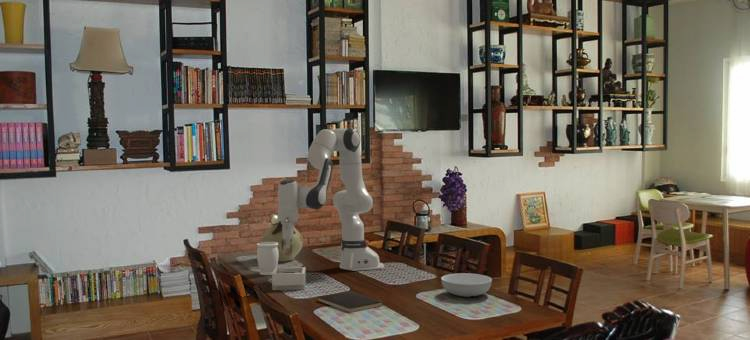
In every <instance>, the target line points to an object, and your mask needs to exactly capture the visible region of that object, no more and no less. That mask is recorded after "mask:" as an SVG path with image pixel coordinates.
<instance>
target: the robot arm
mask: <svg viewBox="0 0 750 340" xmlns="http://www.w3.org/2000/svg"><path fill="white" fill-rule="evenodd" d="M360 143H361V136H360V133H359V131H358V130H357V129H356V128H355V129H354V128H351V127H350V128H344V127H343V128H333V129H325V128H324V129H321V130H320V131H318V133H317V134H316V136H315V137H314V139H313V141H312V142H311V144H310V146H309V149H308V150H307V151H308V152H307V153H306V154H307V160H308V163H309V164H311V166H312V167H314V168H315V169H317V170H318V171H319V172H318V177H317V180H316V184H314V185H313V186H303V185H300V184H299V183H298V182H297V180H296V179H284V180H282V181H280V182H279V184H278V187H277V188H278V189H277V203H278V208H277V213H278V221H281V224H283V230H282V238H283V240H285V242H286V248H290V240H291V238H292V233H293V232H294V227H295V224H296V222H297V221H298V220H299V208H304V209H311V210H317V211H318V210H320V209H322V207H324V205H326V202H327V197H328V189H329V185H330V182H331V178H332V174H333V169H334V164H333V160H332V156H333V154H334V152H339V176H340V180H341V182H342V183H343V184H344V187H345V189H343V190H340V191H337V192H336V193H335V194H334V195H333V198H332V204H333V206H334V207H335V209H336V210H337V212H338V215H339V218H340V219H339V220H340V224H341V235H342V237H341V242H340V246H341V248H340V250H341V258H340V264H339V268H340V269H342V270H345V271H346V270H347V271H351V272H352V271H353V272H356V271H370V270H381V269H385V266H384V263H382V262H380V257H379V255H378V253H377V252H376V251H375V250H374V249H372V248H370V247H369V245H370V242H369V240H367V239H365V225H364V222H363V221H362V219H361V218H360V214H364V213H368V212H370V210H372V208H373V205H374V204H373V203H374V200H373V197H372V196H371V194H370V193H369V192H368V190H367V188H366V186H365V182H364V179H363V178H364V177H363V168H362V167H363V165H362V155H361V149H360Z"/></svg>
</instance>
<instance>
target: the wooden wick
mask: <svg viewBox="0 0 750 340" xmlns="http://www.w3.org/2000/svg"><path fill="white" fill-rule="evenodd" d="M283 256H293V233H292V238H291V240H290V248H286V242H285V240H283Z"/></svg>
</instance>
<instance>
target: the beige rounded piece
mask: <svg viewBox="0 0 750 340" xmlns="http://www.w3.org/2000/svg"><path fill="white" fill-rule="evenodd" d="M269 222H270V226H269V228H268V229H267V230H266V232H265V233H264V234H263V235H262V238H261V242H277V243H278V246H277V248H278V254H279V257H278V263H279V262H290V261H293V260H295V258H296V256H297V255H298V254H299V253H300V252H301V250H302V248H303V244H304V238H303V236H302V235H303V234H302V233H301V232H300V231H299V230H298V229H297V228H296V227H295V226H294V232H293V256H283V238H282V230H283V224H281V221H278V212H271V213H270V214H269ZM261 242H260V243H261Z"/></svg>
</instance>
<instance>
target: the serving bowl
mask: <svg viewBox="0 0 750 340" xmlns="http://www.w3.org/2000/svg"><path fill="white" fill-rule="evenodd" d="M440 279H441V285H442V287H443V289H444V290H445V291H446V292H448V293H449V294H452V295H455V296H457V295H458V296H457V297H461V296H464V297H463V298H472V297H471V296H474V297H476V296H477V297H478V296H480V295H481V296H482V295H483V294H484V295H485V294H486V293H487V292H488V291H489V290H490V289H491V286H492V282H493V278H492V277H490V276H487V275H483V274H478V273H468V272H466V273H465V272H464V273H463V272H461V273H460V272H459V273H449V274H445V275H443V276H441V277H440Z"/></svg>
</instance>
